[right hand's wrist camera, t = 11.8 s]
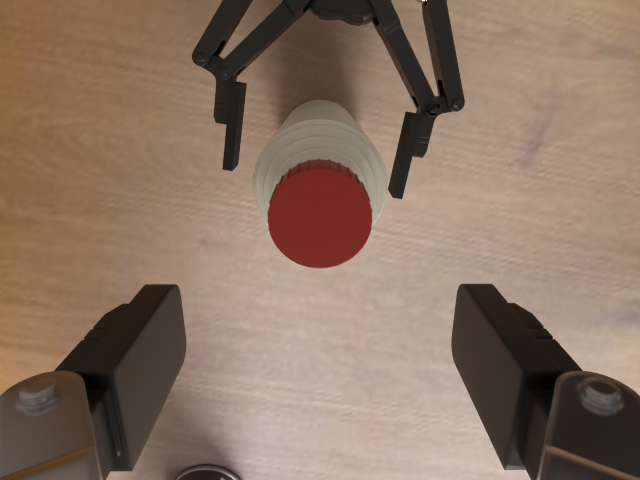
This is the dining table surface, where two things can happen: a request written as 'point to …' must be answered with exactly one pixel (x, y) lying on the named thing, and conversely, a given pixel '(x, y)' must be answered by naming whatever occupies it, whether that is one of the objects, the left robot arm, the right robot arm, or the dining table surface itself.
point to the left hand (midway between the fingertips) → (313, 181)
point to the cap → (320, 214)
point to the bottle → (320, 152)
